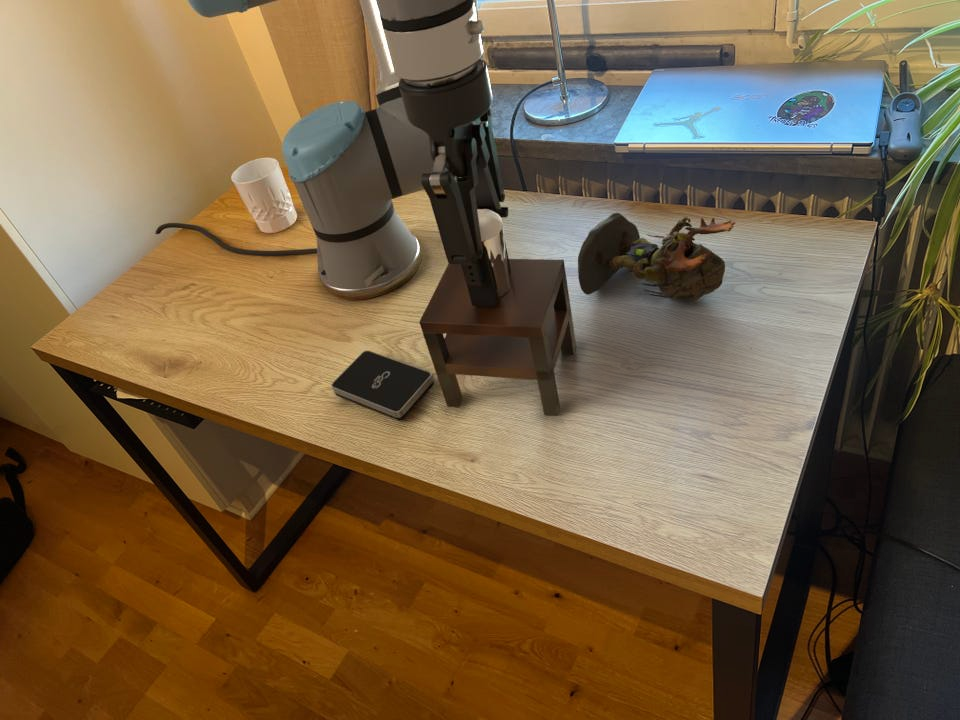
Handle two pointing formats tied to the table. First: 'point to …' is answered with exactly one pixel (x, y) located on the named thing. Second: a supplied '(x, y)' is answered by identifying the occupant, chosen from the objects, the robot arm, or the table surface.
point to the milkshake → (495, 248)
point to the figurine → (652, 258)
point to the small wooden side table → (502, 329)
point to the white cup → (265, 194)
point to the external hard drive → (383, 384)
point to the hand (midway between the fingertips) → (492, 288)
